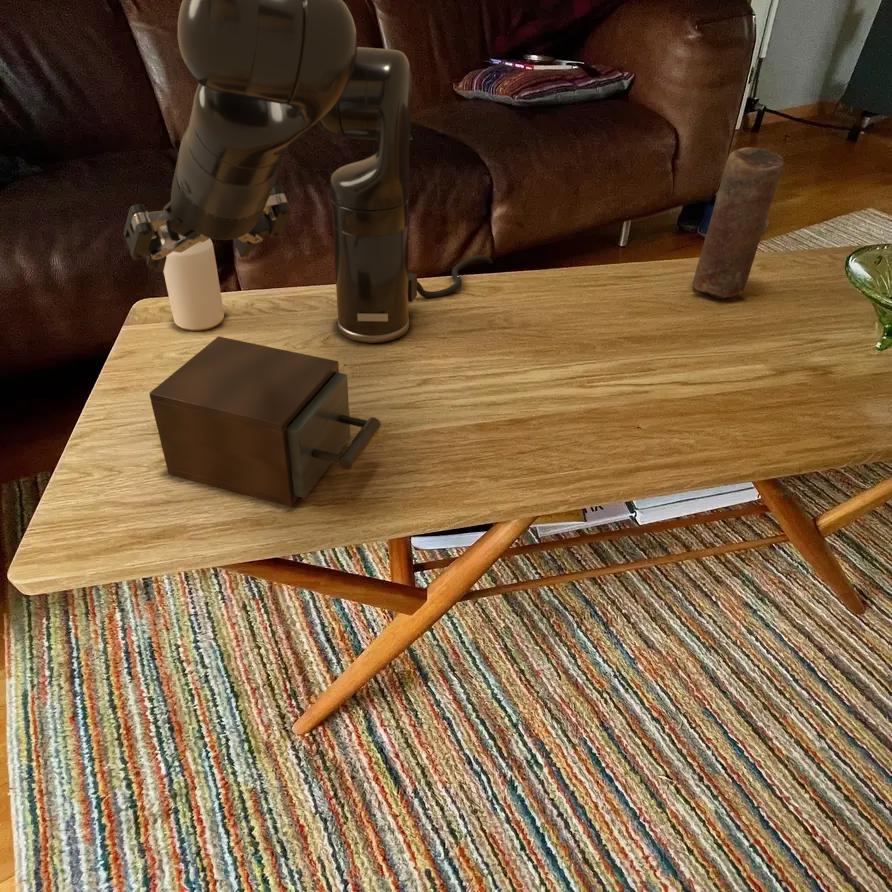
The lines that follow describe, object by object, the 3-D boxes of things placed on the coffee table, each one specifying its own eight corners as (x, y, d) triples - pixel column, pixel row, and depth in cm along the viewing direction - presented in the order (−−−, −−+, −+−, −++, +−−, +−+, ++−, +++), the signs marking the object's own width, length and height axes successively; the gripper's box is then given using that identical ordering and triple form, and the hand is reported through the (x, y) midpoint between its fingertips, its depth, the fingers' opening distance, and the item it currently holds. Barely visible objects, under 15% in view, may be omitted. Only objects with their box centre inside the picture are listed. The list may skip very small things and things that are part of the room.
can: (204, 304, 104) (190, 219, 97) (234, 319, 101) (221, 232, 94) (164, 321, 100) (145, 233, 93) (194, 337, 97) (176, 247, 90)
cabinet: (343, 438, 81) (338, 360, 75) (291, 506, 72) (281, 424, 66) (230, 412, 84) (218, 335, 78) (168, 474, 75) (148, 393, 69)
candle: (752, 292, 113) (793, 154, 101) (731, 308, 109) (772, 166, 97) (704, 277, 117) (738, 142, 105) (682, 292, 113) (716, 153, 100)
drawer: (388, 446, 79) (387, 382, 74) (345, 509, 71) (341, 442, 66) (245, 412, 83) (235, 350, 78) (190, 468, 75) (175, 403, 70)
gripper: (292, 123, 65) (255, 210, 79) (119, 139, 58) (112, 231, 73) (321, 205, 65) (278, 277, 79) (150, 230, 58) (137, 304, 72)
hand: (199, 255), depth 76 cm, fingers open, 8 cm apart
